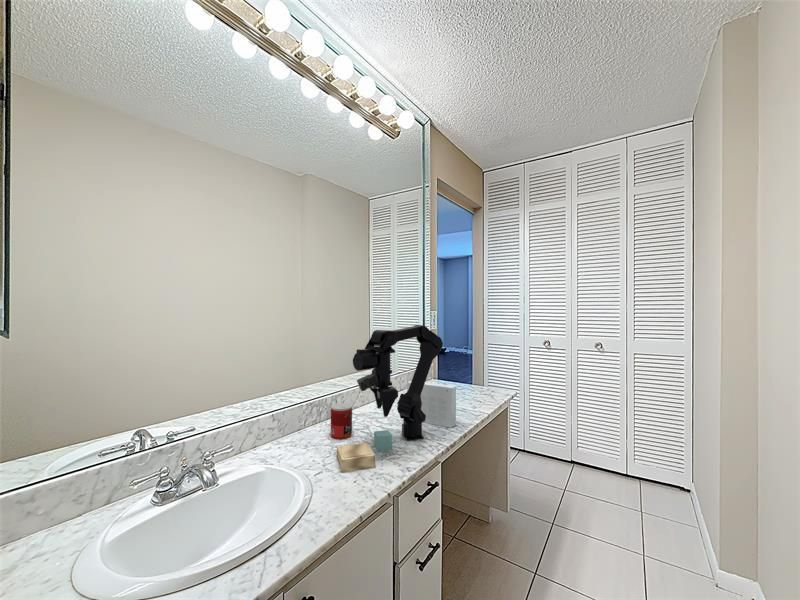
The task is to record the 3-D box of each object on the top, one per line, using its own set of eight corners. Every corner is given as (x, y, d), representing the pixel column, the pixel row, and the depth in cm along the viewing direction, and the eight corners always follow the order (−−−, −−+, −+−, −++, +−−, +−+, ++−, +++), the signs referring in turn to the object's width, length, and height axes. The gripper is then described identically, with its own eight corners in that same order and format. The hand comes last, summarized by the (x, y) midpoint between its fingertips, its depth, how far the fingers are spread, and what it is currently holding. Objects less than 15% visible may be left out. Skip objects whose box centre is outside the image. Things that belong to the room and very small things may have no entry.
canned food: (347, 440, 120) (348, 409, 120) (327, 438, 122) (327, 408, 122) (354, 432, 128) (355, 403, 128) (335, 431, 129) (335, 402, 130)
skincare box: (456, 424, 137) (456, 385, 137) (451, 428, 132) (451, 388, 133) (412, 415, 148) (412, 379, 149) (405, 419, 144) (406, 381, 144)
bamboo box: (367, 454, 110) (367, 441, 110) (375, 468, 100) (375, 454, 100) (336, 459, 106) (336, 445, 106) (341, 473, 97) (341, 459, 97)
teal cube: (387, 444, 117) (387, 429, 118) (392, 449, 113) (392, 435, 113) (374, 446, 116) (374, 431, 116) (377, 451, 111) (377, 436, 111)
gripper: (354, 363, 121) (354, 406, 121) (364, 373, 104) (364, 424, 103) (384, 361, 125) (384, 403, 125) (398, 371, 107) (398, 420, 107)
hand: (382, 412), depth 115 cm, fingers open, 9 cm apart
